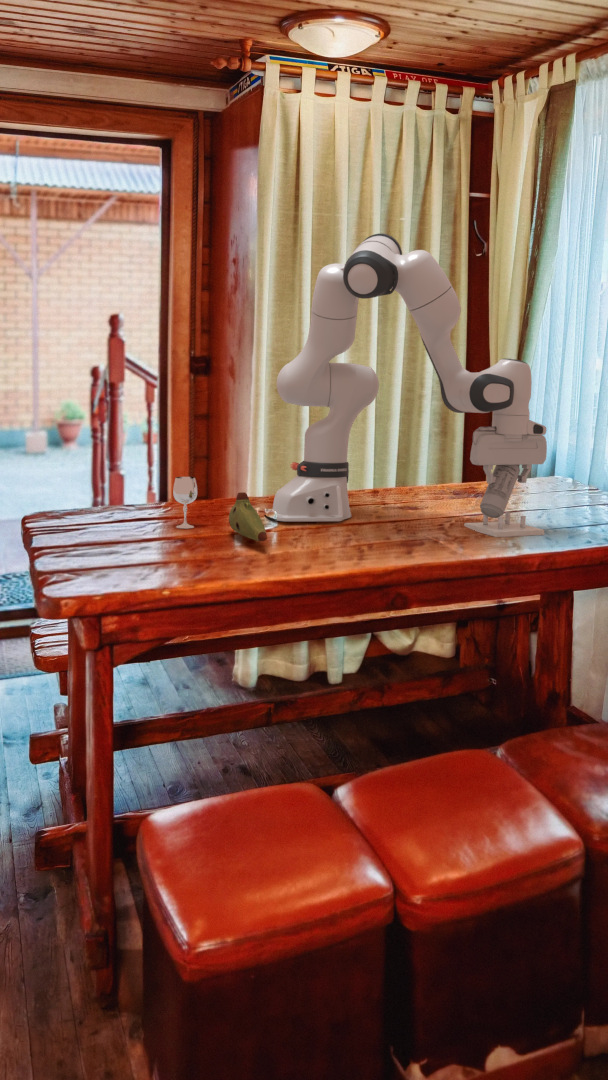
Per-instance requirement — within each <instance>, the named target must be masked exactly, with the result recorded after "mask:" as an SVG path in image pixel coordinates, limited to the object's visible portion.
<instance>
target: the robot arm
mask: <svg viewBox="0 0 608 1080" xmlns="http://www.w3.org/2000/svg"><path fill="white" fill-rule="evenodd" d="M394 291H396V292H397V294H399V295H400V297H401V298H402V300H403V301H404V304H405V305H406V307H407V309H408V311H409V313H410V314H411V316H412V319H413V320H414V322H415V325H416V326H417V329H418V331H419V336H420V339H421V341H422V343H423V346H424V348H425V350H426V353H427V356H428V357H429V360H430V362H431V364H432V366H433V368H434V371H435V374H436V375H437V378H438V381H439V387H440V394H441V398H442V402H443V404H444V405H445V407H446V408H447V409H449V410H450V411H451V412H453V413H455V414H456V413H458V414H463V413H466V414H467V413H475V414H478V413H479V414H486V413H487V414H488V413H491V412H492V416H491V417H492V421H491V426H479V427H478V428H476V429H475V430H474V431H473V434H472V443H471V444H472V445H471V449H470V455H469V456H470V457H469V461H470V462H471V464H472V465H475V466H483V467H482V469H483V471H484V474H485V475H486V484H495V483H496V481H495V480H496V477H495V476H493V472H492V470H493V469H494V466H496V465H521V468H522V471H521V473H520V474H519V475H518V478H517V480H516V482H517V483H520V484H527V479H528V475H529V474H530V472H531V471H532V466H533V465H543V464H544V463H546V462H545V461H546V460H547V455H548V454H547V452H548V451H547V449H548V448H547V446H548V445H547V444H548V443H547V438H546V437H545V435H546V433H547V426H546V425H543V424H540V423H538V422H536V421H533V420H530V407H529V406H530V405H529V403H530V400H531V397H532V371H531V367H530V365H529V364H528V363H527V362H525V361H524V360H520V359H514V358H513V359H512V358H502V359H501V358H500V359H499V360H498V362H496V363H495V364H493V365H491V366H489V367H488V368H486V369H484V370H481V371H479V372H470V370H467V369H465V368H464V367H463V365H462V363H461V361H460V359H459V357H458V355H457V352H456V349H455V347H454V345H453V343H452V340H451V334H452V333H451V332H452V330H453V329H454V327H455V326H456V325H457V324H458V321H459V319H460V316H461V312H462V308H461V304H460V300H459V297H458V295H457V292H456V290H455V289H454V287H453V285H452V283H451V282H450V280H449V278H448V276H447V275H446V273H445V271H444V270H443V268H442V267H441V265H440V264H439V263H438V261H437V260H436V259H435V258H434V256H433V255H432V254H431V253H430V252H429V251H427V250H424V249H416V250H412V251H409V252H408V253H407V252H406V253H405V254H403V250H402V248H401V245H400V243H399V242H398V240H396V239H395V237H393V236H392V235H390V234H388V233H381V232H380V233H375V234H372V235H369V236H368V237H367V238H365V239H364V240H363V241H362V242H361V243H360V244H358V245H357V246H356V247H355V249H354V250H353V252H352V253H351V255H350V256H349V257H348V258H347V260H346V262H345V263H338V262H337V263H335V262H334V263H329V264H327V265H325V266H323V267H322V268H321V269H320V270H319V271H318V274H317V278H316V281H315V284H314V290H313V294H312V300H311V301H312V302H311V310H310V322H309V329H308V336H307V340H306V342H305V344H304V346H303V348H302V349H301V351H300V352H299V353H298V355H297V356H295V358H293V359H292V360H291V361H290V362H288V363H286V364H285V365H284V366H283V367H282V368H281V369H280V371H279V372H278V375H277V378H276V391H277V393H278V396H279V397H280V399H282V402H284V403H287V404H291V405H297V406H299V407H300V406H301V407H327V408H329V412H328V414H327V415H326V417H324V418H322V419H319V420H318V421H316V422H314V423H312V424H311V425H309V426H308V427H307V429H306V430H305V431H304V443H303V444H304V447H303V450H304V452H303V459H304V460H302V461H301V462H300V463H298V462H295V461H293V462H291V464H290V469H291V470H292V471H296V476H294V477H293V478H291V480H290V481H288V482H287V483H286V484H284V485H283V486H282V487H281V488H279V489H277V491H276V492H275V494H274V499H273V504H272V510H274V511H276V512H277V520H276V521H279V522H341V521H344V520H347V519H350V518H351V517H352V512H351V508H350V502H349V493H348V483H349V475H350V474H349V473H350V470H349V469H350V468H349V466H350V464H349V462H348V450H349V439H350V433H351V429H352V426H353V424H354V422H355V420H356V419H357V417H358V416H359V415H360V413H361V412H363V410H364V409H366V408H367V407H368V406H369V405H371V404H372V403H373V402H374V400H375V399H376V398H377V396H378V393H379V387H380V382H379V378H378V375H377V373H376V372H375V369H373V368H372V367H370V366H367V365H364V364H363V365H362V364H358V363H353V362H352V363H351V362H349V363H348V362H331V361H332V359H334V358H335V357H336V356H339V355H341V354H343V353H346V351H348V350H349V349H350V348H351V347H352V345H353V344H354V341H355V340H356V339H355V338H356V328H357V319H358V308H359V300H360V299H372V298H377V297H381V296H388V295H392V294H393V293H394ZM493 471H494V470H493Z"/></svg>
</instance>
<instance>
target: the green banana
mask: <svg viewBox="0 0 608 1080" xmlns="http://www.w3.org/2000/svg"><path fill="white" fill-rule="evenodd" d="M228 523H229V525H230V526H229V527H230V528H231V529H232V530H233V531H235V533H237V534H239V535H241V536H242V537H245V538H247V539H251V540H254V541H257V542H265V541H267V540H268V536H267V531H266V528H265V525H264V523H263V521H262V519H261V517H260V515H259V513H258V512H257V509H255V508H254V507H253V505H252V504H251V501H250V499H249V496H248V494H247V493H246V492H243V491H242V492H238V493H237V495H236V499H235V503H234V504H233V505H232V507H231V509H230V511H229V514H228Z"/></svg>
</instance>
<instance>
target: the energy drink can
mask: <svg viewBox="0 0 608 1080" xmlns="http://www.w3.org/2000/svg"><path fill="white" fill-rule="evenodd" d="M493 469H494V470H493V472H492V474H493V476H495V477H496V480H495V481H496V483H495V484H489V483H487V487H486V489H485V492H484V494H483V497H482V500H481V502H480V505H479V508H480V512H481V514H483V515H486V516H488V518H492V519H498V517H503V515H504V513H505V512H506V508H507V505H508V503H509V500H510V498H511V495H512V493H513V490H514V488H515V485H516V482H517V480H518V475H520V471H521V469H520V465H494V468H493Z"/></svg>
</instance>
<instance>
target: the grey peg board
mask: <svg viewBox="0 0 608 1080" xmlns="http://www.w3.org/2000/svg"><path fill="white" fill-rule="evenodd" d="M504 513H505V516H500V517H498V518H497V520H498V521H489V517H488V516H486V515H484V514H483V517H482V518H483V519H482V521H481V522H480V521H479V522H465V523H463V524H464V525H463V526H464V527H465V528H468V529H470V530H472V531H474V530H475V532H477V533H480V534H484V535H487V536H491V537H493V538H504V537H505V538H506V537H522V536H523V537H525V536H526V537H527V536H544V535H545V529H542V528H538V527H534V526H530V525H526V520H527V519H526V517H527V516H526V515H520V522H515V521H511V512H510V511H504Z"/></svg>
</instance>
